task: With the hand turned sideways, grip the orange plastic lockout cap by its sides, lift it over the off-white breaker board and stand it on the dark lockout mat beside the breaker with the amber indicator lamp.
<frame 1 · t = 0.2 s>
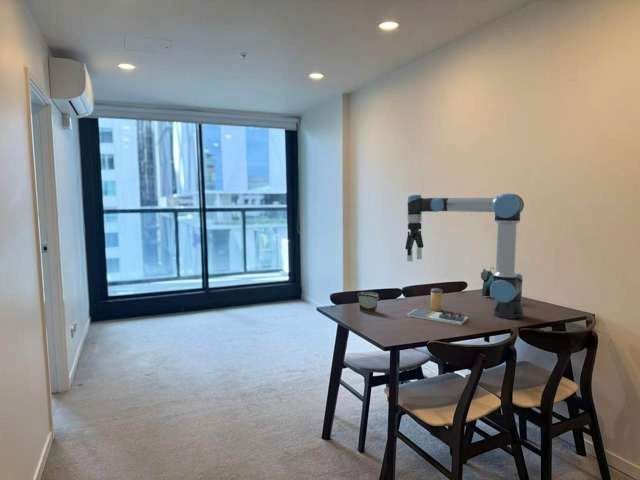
hand: (414, 260, 248), 27 cm above the table, tool pointing down, fingers open, 13 cm apart
lockout cap: (435, 309, 246), on the table
breaker board: (437, 317, 229), on the table
food container: (369, 311, 242), on the table
ceramic cat: (493, 299, 272), on the table
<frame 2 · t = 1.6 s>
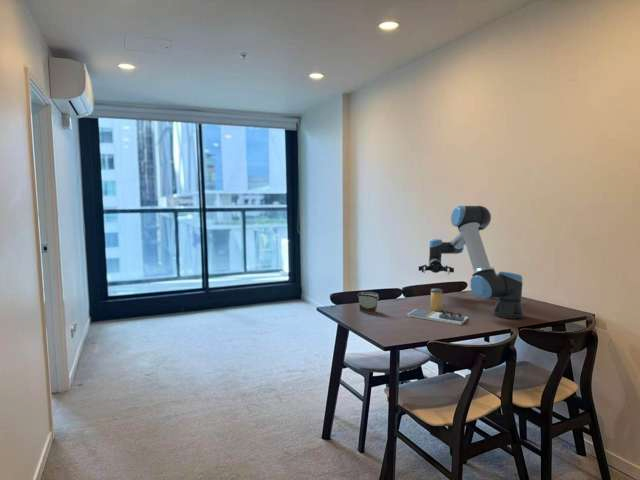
hand: (436, 271, 253), 20 cm above the table, tool horizontal, fingers open, 13 cm apart
nothing on the table moved.
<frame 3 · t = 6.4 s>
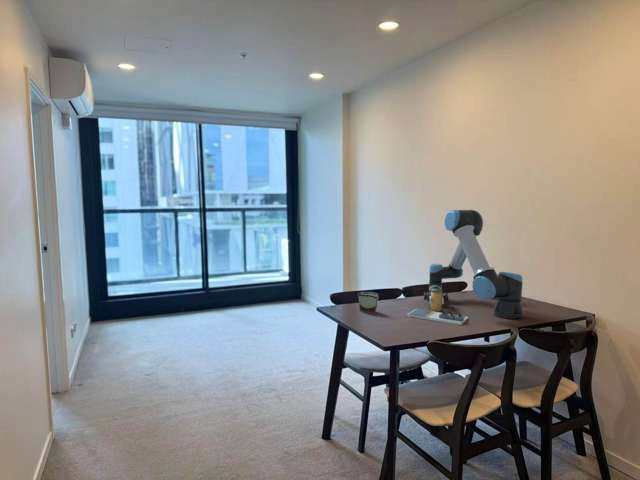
hand: (436, 301, 240), 6 cm above the table, tool horizontal, fingers closed on lockout cap, 6 cm apart
lockout cap: (435, 309, 246), on the table, touching gripper
everything else where it was.
when the fingers open (8 cm above the table, at t = 12.3 s): lockout cap stays where it is, resting on breaker board.
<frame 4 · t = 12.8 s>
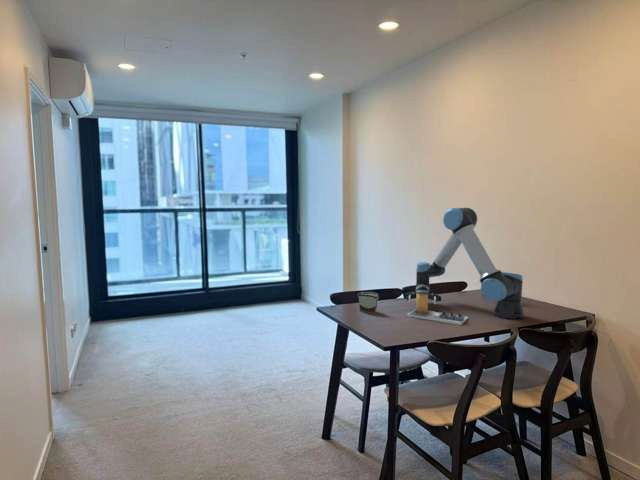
hand: (422, 300, 230), 8 cm above the table, tool horizontal, fingers open, 12 cm apart
lockout cap: (421, 312, 234), point 2 cm above the table, touching breaker board
everything else where it was.
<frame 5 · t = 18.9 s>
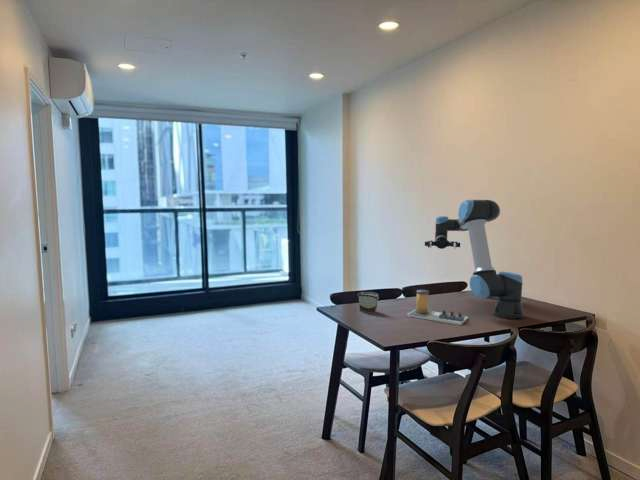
hand: (442, 245, 252), 35 cm above the table, tool horizontal, fingers open, 13 cm apart
nothing on the table moved.
at the end: lockout cap inside the target area on the breaker board (0.1 cm from its centre), point 1.5 cm above the breaker board's base; lockout cap tilted 1°; the gripper is holding nothing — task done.
